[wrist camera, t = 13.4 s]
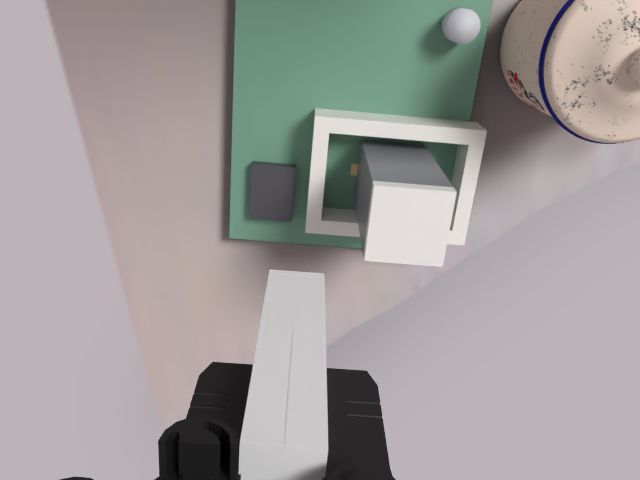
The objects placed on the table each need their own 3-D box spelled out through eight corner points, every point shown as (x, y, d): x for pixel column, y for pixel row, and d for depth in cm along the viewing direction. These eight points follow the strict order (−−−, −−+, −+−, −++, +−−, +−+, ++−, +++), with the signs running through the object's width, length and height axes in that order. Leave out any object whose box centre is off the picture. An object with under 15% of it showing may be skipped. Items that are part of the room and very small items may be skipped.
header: (315, 108, 39) (314, 116, 36) (477, 122, 39) (487, 130, 37) (305, 219, 42) (305, 232, 40) (455, 230, 42) (464, 245, 40)
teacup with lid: (472, 90, 40) (529, 127, 29) (532, -52, 36) (621, -68, 26) (628, 143, 41) (737, 197, 30) (699, 11, 38) (850, 21, 27)
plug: (361, 139, 40) (373, 185, 30) (424, 144, 40) (456, 192, 31) (353, 204, 42) (363, 266, 32) (414, 209, 42) (441, 272, 32)
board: (238, -31, 37) (232, -33, 34) (488, -7, 37) (503, -7, 34) (231, 232, 44) (225, 249, 41) (441, 248, 44) (449, 266, 41)
